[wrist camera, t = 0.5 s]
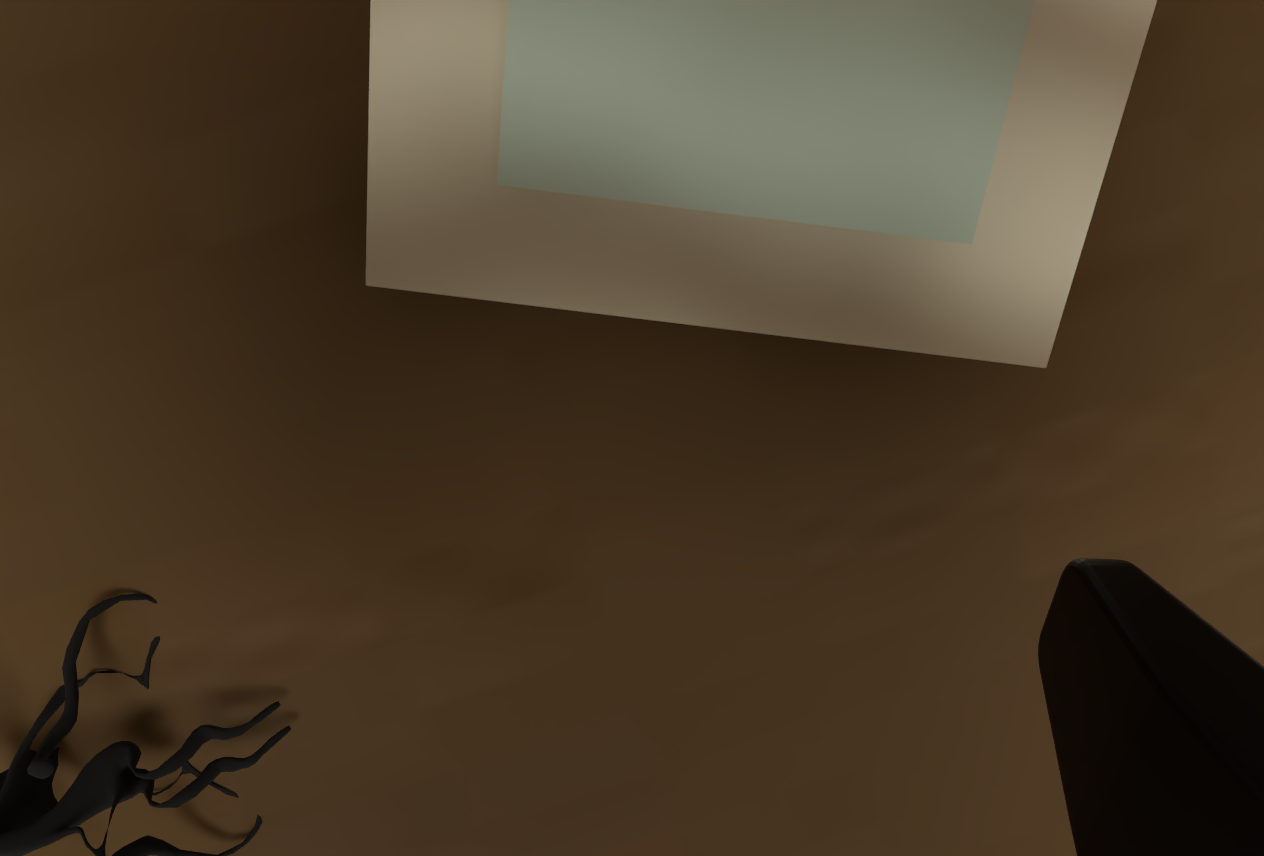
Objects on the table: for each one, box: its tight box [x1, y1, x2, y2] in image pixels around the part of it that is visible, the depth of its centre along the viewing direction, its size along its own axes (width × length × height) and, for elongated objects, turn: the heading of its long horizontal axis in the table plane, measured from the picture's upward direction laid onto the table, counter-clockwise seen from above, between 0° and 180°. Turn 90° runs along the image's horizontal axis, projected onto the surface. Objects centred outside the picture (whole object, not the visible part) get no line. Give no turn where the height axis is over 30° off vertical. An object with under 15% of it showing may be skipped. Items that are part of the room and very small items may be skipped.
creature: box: [0, 594, 291, 856], centre depth 24 cm, size 8×5×8 cm
